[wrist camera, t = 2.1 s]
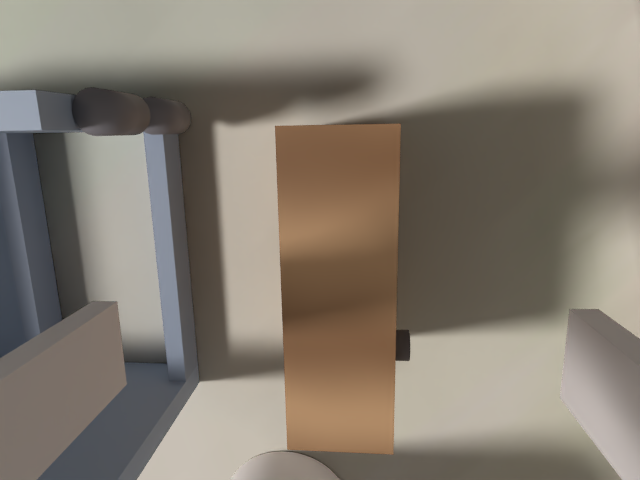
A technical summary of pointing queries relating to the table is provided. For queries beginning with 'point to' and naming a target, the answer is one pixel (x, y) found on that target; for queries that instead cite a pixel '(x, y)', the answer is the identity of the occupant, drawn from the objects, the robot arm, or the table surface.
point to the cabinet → (39, 277)
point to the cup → (283, 468)
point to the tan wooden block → (340, 284)
